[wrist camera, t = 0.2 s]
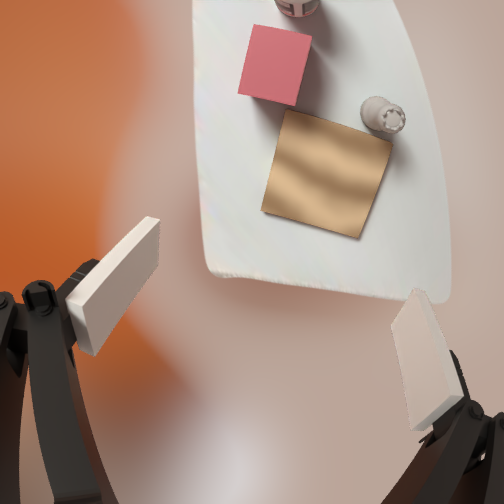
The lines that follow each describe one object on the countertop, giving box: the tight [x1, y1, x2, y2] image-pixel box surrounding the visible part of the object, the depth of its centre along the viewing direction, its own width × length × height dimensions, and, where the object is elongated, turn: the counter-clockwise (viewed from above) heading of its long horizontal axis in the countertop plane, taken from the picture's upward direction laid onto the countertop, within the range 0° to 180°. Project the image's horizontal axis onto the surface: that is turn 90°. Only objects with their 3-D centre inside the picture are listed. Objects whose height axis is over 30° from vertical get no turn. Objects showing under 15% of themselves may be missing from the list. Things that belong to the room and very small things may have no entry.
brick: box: [238, 24, 312, 106], centre depth 29 cm, size 8×6×7 cm
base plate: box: [261, 109, 393, 238], centre depth 38 cm, size 14×14×1 cm
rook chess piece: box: [360, 96, 406, 134], centre depth 29 cm, size 4×4×8 cm
